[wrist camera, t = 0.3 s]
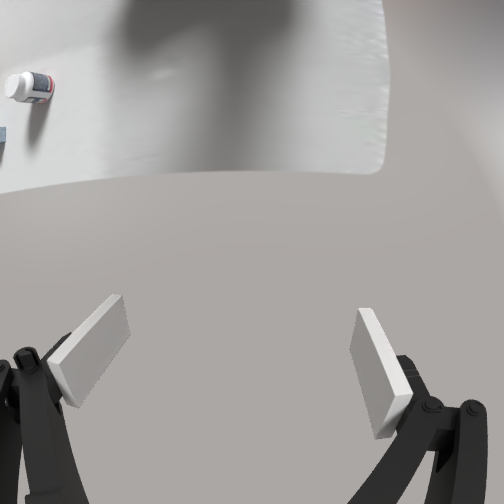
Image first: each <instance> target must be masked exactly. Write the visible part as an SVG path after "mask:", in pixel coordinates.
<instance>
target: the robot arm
mask: <svg viewBox="0 0 504 504" xmlns="http://www.w3.org/2000/svg"><path fill="white" fill-rule="evenodd" d="M129 336H130V332H129V327H128V323H127V318H126V313H125V307H124V303H123V297H122V295H113V294H111V295H110V296H109V297H108V298H107V299H106V300H105V301H104V302H103V303H102V304H101V305H100V306H99V307H98V308H97V309H96V310H95V311H94V312H93V313H92V314H91V315H90V316H89V317H88V318H87V319H86V320H85V321H84V322H83V323H82V324H81V325H80V326H79V327H78V328H77V329H76V330H75V331H74V332H73V333H71V332H70V333H68V334H67V335H65V336H63V337H62V338H61V339H60V340H59V341H58V342H57V343H56V344H55V345H54V346H53V348H52V349H50V350H49V352H47V354H46V355H45V356H44V357H43V358H42V359H41V360H40V359H39V356H38V354H37V351H36V349H34V348H32V347H24V348H22V349H20V350H18V351H17V352H16V353H15V354H14V357H13V358H14V360H15V363H16V365H17V367H18V369H14V368H11V366H10V364H9V362H8V361H7V360H0V504H17V493H18V479H19V468H20V459H21V451H22V444H23V453H24V460H25V466H26V473H27V479H28V484H29V489H30V494H28V495H26V496H25V504H89V502H88V499H87V496H86V494H85V491H84V488H83V485H82V482H81V480H80V476H79V473H78V470H77V467H76V464H75V460H74V457H73V454H72V449H71V446H70V442H69V438H68V434H67V430H66V425H65V420H64V416H63V411H62V406H61V403H60V401H59V400H60V399H61V397H62V396H63V398H64V400H65V401H66V403H67V405H70V406H73V407H76V408H80V406H81V405H82V403H83V402H84V400H85V399H86V397H87V396H88V394H89V393H90V391H91V390H92V388H93V387H94V385H95V384H96V382H97V381H98V380H99V378H100V377H101V375H102V374H103V372H104V371H105V369H106V368H107V367H108V365H109V364H110V363H111V361H112V360H113V358H114V357H115V355H116V354H117V353H118V351H119V350H120V348H121V347H122V345H123V344H124V343H125V341H126V340H127V339H128V337H129ZM350 352H351V355H352V358H353V362H354V365H355V369H356V372H357V375H358V379H359V382H360V386H361V389H362V393H363V396H364V400H365V403H366V407H367V410H368V414H369V418H370V422H371V425H372V429H373V434H374V438H375V439H382V438H390V437H392V435H393V433H394V431H395V430H396V431H397V436H396V438H395V439H394V441H393V442H392V444H391V445H390V447H389V448H388V450H387V451H386V453H385V454H384V456H383V457H382V459H381V460H380V462H379V463H378V464H377V466H376V467H375V469H374V470H373V471H372V473H371V474H370V476H369V477H368V478H367V480H366V481H365V482H364V483H363V485H362V486H361V487H360V489H359V490H358V491H357V492H356V494H355V495H354V496H353V497H352V498H351V500H350V501H349V502H348V503H347V504H396V503H397V502H398V500H399V499H400V497H401V496H402V494H403V492H404V491H405V489H406V487H407V486H408V484H409V482H410V481H411V479H412V477H413V475H414V474H415V472H416V470H417V468H418V466H419V465H420V463H421V461H422V459H423V457H424V455H425V453H426V451H435V456H434V462H433V467H432V472H431V477H430V482H429V486H428V491H427V495H426V499H425V503H424V504H484V500H485V491H486V478H487V456H488V451H487V450H488V442H487V441H488V435H487V413H486V408H485V407H484V405H483V404H482V403H480V402H479V401H476V400H467V401H465V402H464V403H462V405H461V406H460V408H454V407H445V406H444V405H443V403H442V402H441V401H440V400H439V399H437V398H436V397H433V396H430V394H429V392H428V390H427V389H426V386H425V384H424V382H423V380H422V378H421V377H420V376H419V372H418V371H417V370H416V367H415V365H414V363H413V361H412V360H411V359H409V358H408V357H407V356H406V355H400V356H395V354H394V352H393V349H392V348H391V345H390V343H389V341H388V339H387V338H386V335H385V333H384V331H383V330H382V328H381V326H380V324H379V322H378V320H377V318H376V316H375V314H374V312H373V310H372V309H371V308H358V311H357V316H356V322H355V326H354V331H353V336H352V341H351V345H350ZM5 401H6V403H5Z"/></svg>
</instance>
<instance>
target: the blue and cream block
mask: <svg viewBox="0 0 504 504" xmlns="http://www.w3.org/2000/svg"><path fill="white" fill-rule="evenodd" d="M5 136H6V127H0V143H2V142H5V141H6V139H5Z"/></svg>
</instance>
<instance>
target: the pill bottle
mask: <svg viewBox="0 0 504 504" xmlns="http://www.w3.org/2000/svg"><path fill="white" fill-rule="evenodd" d="M53 90H54V80H53V78H52V77H51V76H48V75H43V74H38V73H32V72H24V73H22V74H21V75H20V74H13V75H11V76H10V77H9V79H8V80H7V82H6V85H5V89H4V93H5V96H6V97H7V98H14V99H15V100H16V101H17V102H25V103H44V102H46V101H47V100H48V99H49V98H50V97H51V95H52V93H53Z"/></svg>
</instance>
